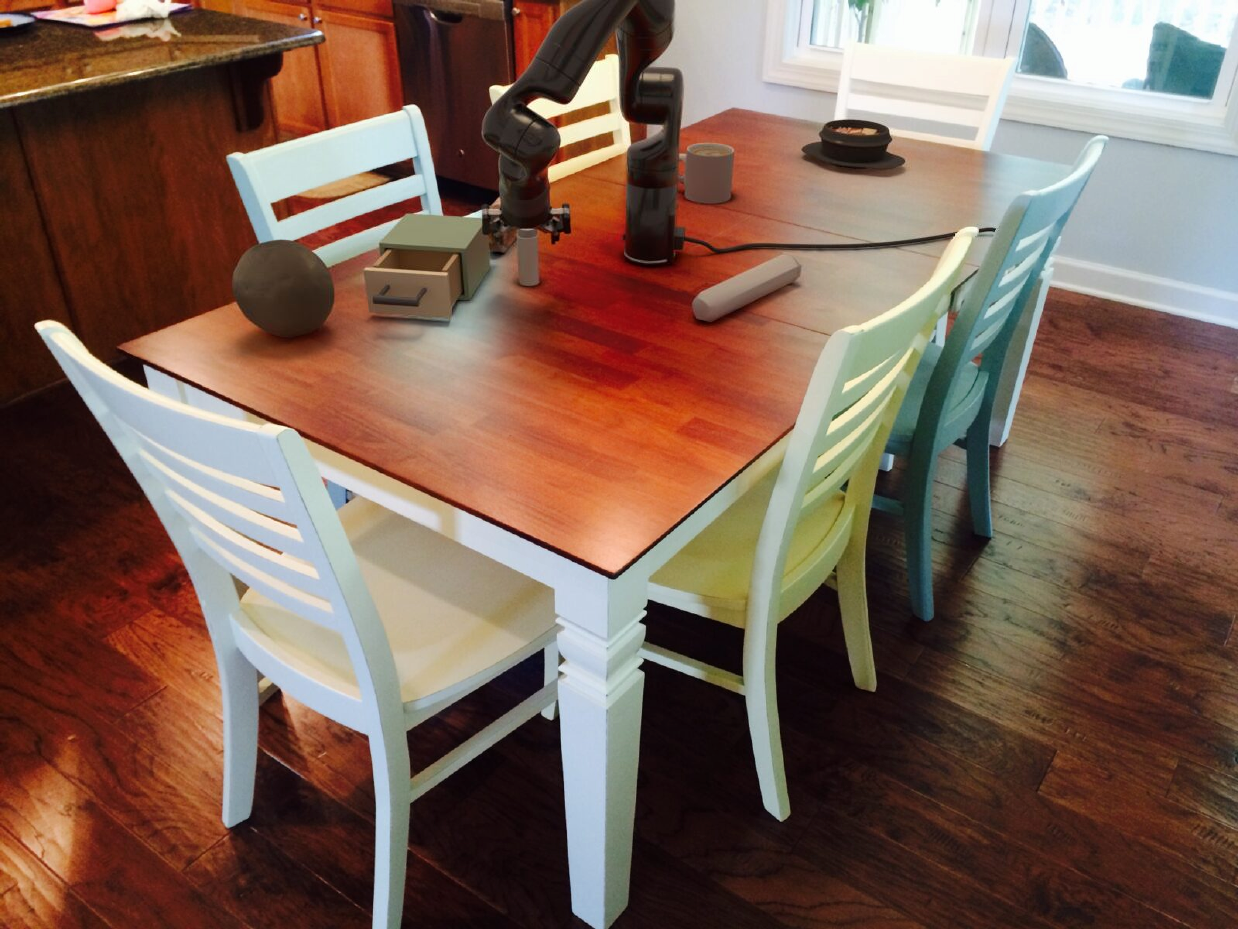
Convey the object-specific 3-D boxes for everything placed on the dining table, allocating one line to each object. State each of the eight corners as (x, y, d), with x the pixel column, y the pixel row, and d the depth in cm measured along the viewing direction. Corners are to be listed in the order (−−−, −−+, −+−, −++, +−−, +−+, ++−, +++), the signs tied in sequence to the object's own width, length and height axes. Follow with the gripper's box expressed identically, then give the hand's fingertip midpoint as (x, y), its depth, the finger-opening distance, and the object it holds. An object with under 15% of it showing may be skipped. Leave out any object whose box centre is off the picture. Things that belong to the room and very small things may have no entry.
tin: (499, 259, 181) (497, 214, 176) (483, 257, 181) (480, 212, 177) (522, 231, 193) (521, 188, 188) (507, 229, 194) (505, 187, 189)
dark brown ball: (263, 315, 159) (245, 225, 151) (350, 318, 159) (337, 227, 151) (231, 355, 147) (210, 260, 139) (325, 358, 147) (310, 262, 139)
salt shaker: (541, 278, 173) (539, 223, 168) (537, 286, 171) (535, 230, 165) (521, 277, 174) (518, 222, 168) (516, 285, 171) (514, 229, 165)
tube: (715, 307, 155) (806, 263, 170) (691, 287, 157) (783, 246, 172) (705, 333, 159) (795, 287, 174) (681, 313, 161) (772, 270, 176)
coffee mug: (738, 194, 214) (742, 147, 208) (716, 206, 207) (720, 158, 201) (684, 183, 220) (687, 137, 214) (662, 194, 213) (663, 147, 207)
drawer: (440, 334, 152) (436, 289, 148) (356, 327, 154) (350, 283, 150) (472, 285, 168) (469, 244, 164) (395, 280, 170) (391, 239, 166)
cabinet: (469, 300, 165) (465, 248, 160) (385, 294, 167) (378, 242, 162) (490, 267, 177) (487, 218, 172) (411, 262, 179) (406, 213, 174)
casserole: (785, 161, 235) (789, 124, 231) (824, 145, 247) (828, 110, 243) (881, 183, 222) (887, 145, 218) (917, 164, 234) (924, 128, 230)
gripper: (477, 217, 147) (484, 261, 163) (573, 215, 148) (571, 259, 164) (476, 170, 148) (483, 218, 164) (571, 169, 149) (569, 217, 165)
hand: (527, 239), depth 164 cm, fingers open, 8 cm apart
